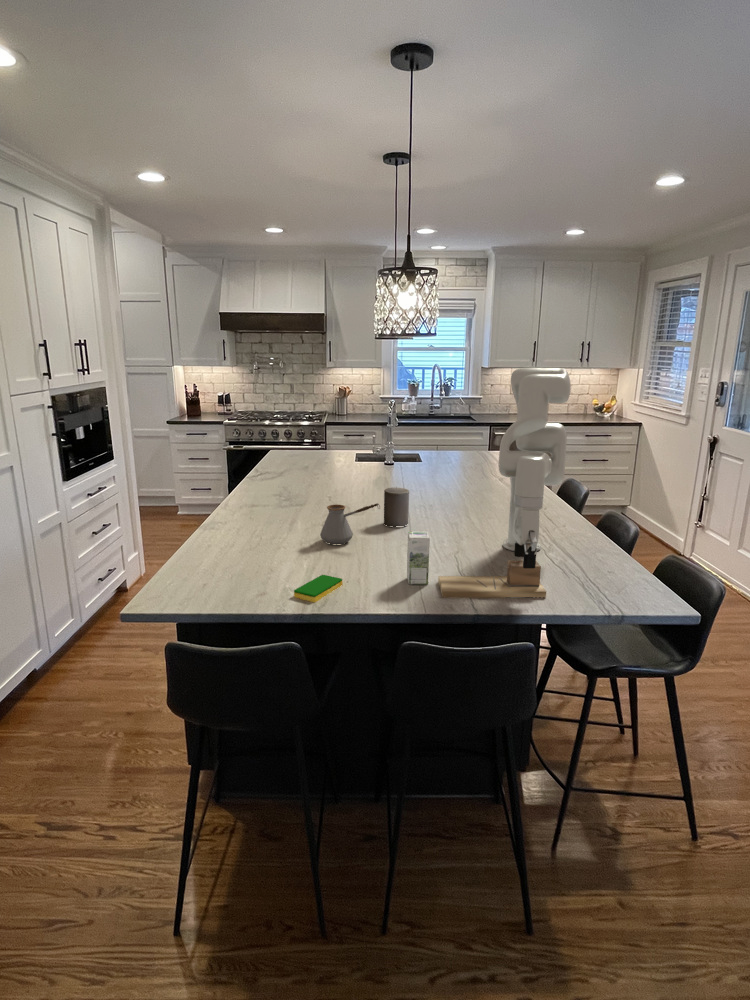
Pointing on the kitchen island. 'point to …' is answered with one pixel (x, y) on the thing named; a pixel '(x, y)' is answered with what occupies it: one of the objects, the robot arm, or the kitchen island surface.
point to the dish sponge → (317, 588)
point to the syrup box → (418, 558)
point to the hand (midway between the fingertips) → (524, 562)
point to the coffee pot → (339, 524)
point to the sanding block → (523, 575)
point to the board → (484, 587)
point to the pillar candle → (396, 506)
